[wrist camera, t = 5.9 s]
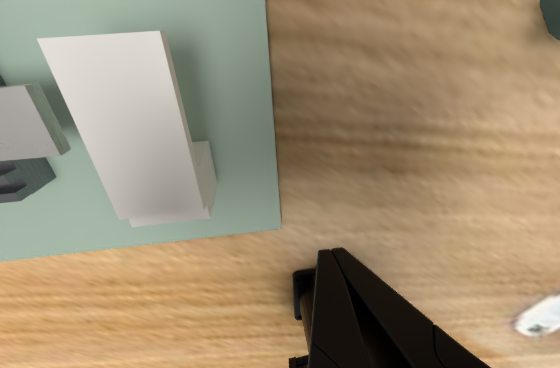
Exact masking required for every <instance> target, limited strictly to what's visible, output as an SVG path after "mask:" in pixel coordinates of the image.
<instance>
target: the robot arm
mask: <svg viewBox="0 0 560 368" xmlns="http://www.w3.org/2000/svg"><path fill="white" fill-rule="evenodd" d="M298 277H299V278H298ZM293 295H294V314H295V319H296V320H302V321H303V326H304V331H305V336H306V341H307V346H308V352H309V355H306V356H302V357H298V358H296V357H293V358H289V368H491V367H489V366H488V365H487V364H485V363H484V362H483V361H481V360H480V359H479V358H477V357H476V356H475V355H473V354H472V353H470V352H469V351H468V350H467V349H465V348H464V347H463V346H462V345H460V344H459V343H458V342H457V341H455V340H454V339H453V338H452V337H450V336H449V335H448V334H447V333H445V332H444V331H443V330H442V329H441V328H439V327H438V326H437V325H434V324H433V322H432V321H431V320H430V319H428V318H427V317H426V316H425V315H424V314H422V313H421V312H420V311H419V310H418V309H416V308H415V307H414V306H413V305H412V304H410V303H409V302H408V301H407V300H406V299H404V298H403V297H402V296H401V295H400V294H398V293H397V292H396V291H395V290H393V289H392V288H391V287H390V286H389V285H387V284H386V283H385V282H384V281H383V280H381V279H380V278H379V277H378V276H377V275H375V274H374V273H373V272H372V271H371V270H369V269H368V268H367V267H366V266H365V265H363V264H362V263H361V262H360V261H359V260H357V259H356V258H355V257H354V256H353V255H351V254H350V253H349V252H348V251H347V250H345V249H344V248H342V247H340V248H332V249H331V250H330V249H324V250H319V251H318V259H317V269H316V270H308V271H301V272H296V273H294V274H293Z"/></svg>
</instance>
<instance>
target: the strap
mask: <svg viewBox="0 0 560 368" xmlns="http://www.w3.org/2000/svg"><path fill="white" fill-rule="evenodd" d="M70 150H71V147H70V145H69V143H68V141H67V139H66V137H65V135H64V133H63V131H62V129H61V127H60V125H59V123H58V121H57V118H56V116H55V114H54V112H53V110H52V108H51V106H50V104H49V102H48V100H47V98H46V96H45V94H44V92H43V90H42V88H41V86H40V84H39V83H33V84H19V85H6V86H0V161H6V160H18V159H30V158H41V157H53V156H61V155H63V154H65V153H66V152H68V151H70Z"/></svg>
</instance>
